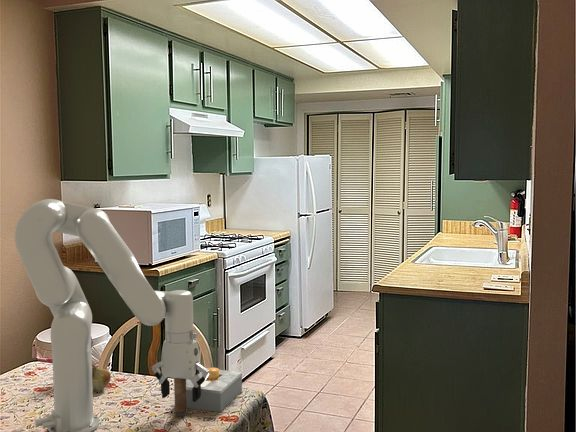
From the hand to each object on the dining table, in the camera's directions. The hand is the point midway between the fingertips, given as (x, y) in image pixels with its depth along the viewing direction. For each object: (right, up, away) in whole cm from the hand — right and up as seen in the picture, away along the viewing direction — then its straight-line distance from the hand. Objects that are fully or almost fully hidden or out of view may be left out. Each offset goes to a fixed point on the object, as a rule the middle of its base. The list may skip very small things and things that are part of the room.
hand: (180, 397), depth 160 cm
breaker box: (+6, -4, +12) cm, 14 cm away
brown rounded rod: (0, -5, 0) cm, 5 cm away
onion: (-29, -4, +19) cm, 35 cm away
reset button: (+7, 0, +14) cm, 15 cm away
